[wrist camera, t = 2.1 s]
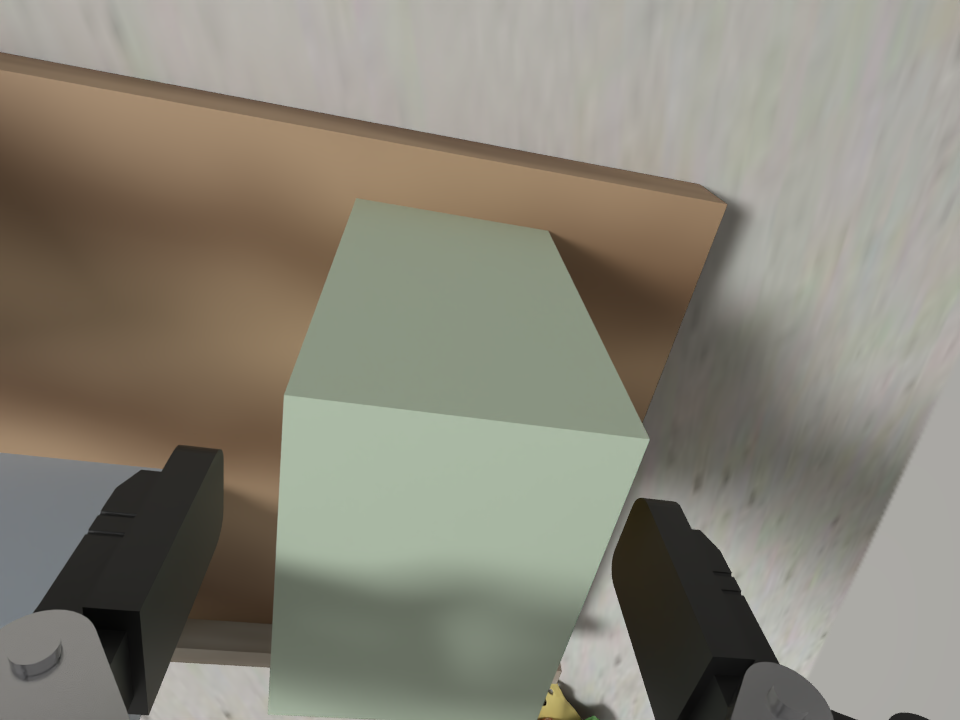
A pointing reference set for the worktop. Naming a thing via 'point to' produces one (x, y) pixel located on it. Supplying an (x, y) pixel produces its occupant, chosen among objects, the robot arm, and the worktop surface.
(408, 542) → the tea box
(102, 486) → the box
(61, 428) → the wooden slab
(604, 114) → the worktop surface
